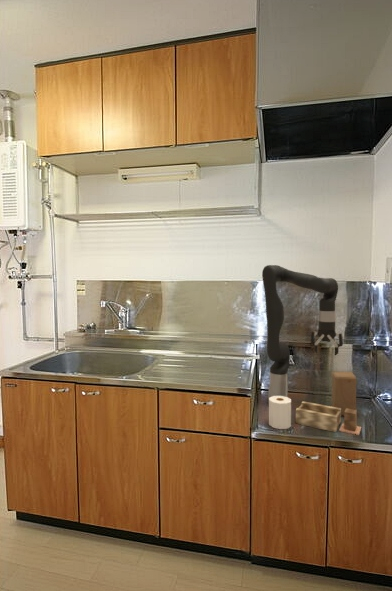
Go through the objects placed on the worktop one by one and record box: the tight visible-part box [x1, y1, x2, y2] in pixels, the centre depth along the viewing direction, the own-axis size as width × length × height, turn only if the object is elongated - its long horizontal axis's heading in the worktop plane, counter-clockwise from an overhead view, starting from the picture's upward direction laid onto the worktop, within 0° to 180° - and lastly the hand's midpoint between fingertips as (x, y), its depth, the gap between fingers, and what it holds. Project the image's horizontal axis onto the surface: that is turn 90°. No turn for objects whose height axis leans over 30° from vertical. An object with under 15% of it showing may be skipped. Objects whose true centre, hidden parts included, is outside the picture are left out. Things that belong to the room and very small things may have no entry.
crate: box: [295, 401, 342, 433], centre depth 163 cm, size 18×12×7 cm, turn 58°
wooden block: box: [330, 370, 357, 417], centre depth 175 cm, size 10×10×20 cm
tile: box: [338, 422, 362, 436], centre depth 156 cm, size 8×8×1 cm
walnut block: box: [343, 408, 358, 432], centre depth 156 cm, size 4×5×8 cm
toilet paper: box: [268, 396, 292, 430], centre depth 162 cm, size 10×10×12 cm
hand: (326, 353), depth 166 cm, fingers open, 8 cm apart
